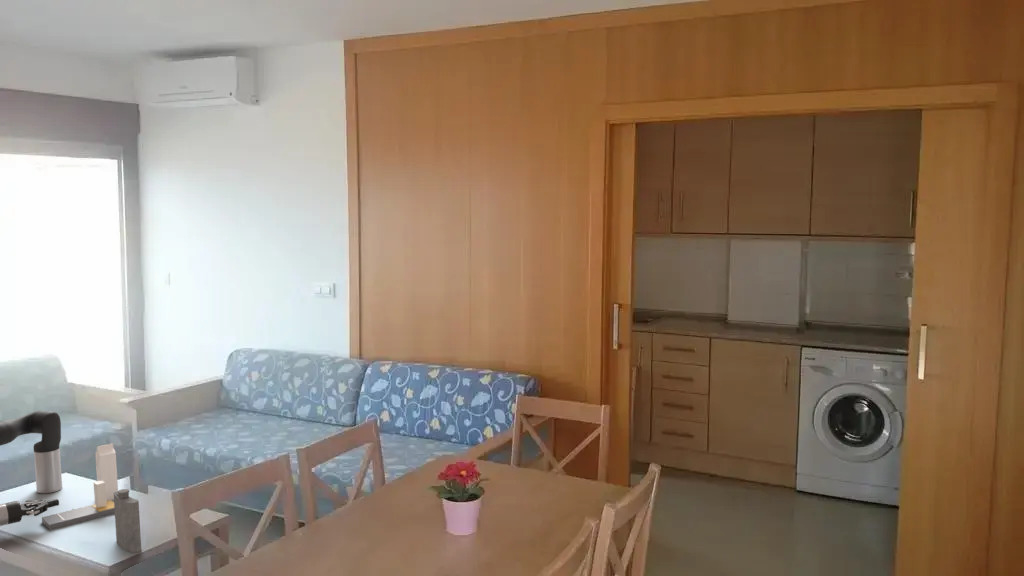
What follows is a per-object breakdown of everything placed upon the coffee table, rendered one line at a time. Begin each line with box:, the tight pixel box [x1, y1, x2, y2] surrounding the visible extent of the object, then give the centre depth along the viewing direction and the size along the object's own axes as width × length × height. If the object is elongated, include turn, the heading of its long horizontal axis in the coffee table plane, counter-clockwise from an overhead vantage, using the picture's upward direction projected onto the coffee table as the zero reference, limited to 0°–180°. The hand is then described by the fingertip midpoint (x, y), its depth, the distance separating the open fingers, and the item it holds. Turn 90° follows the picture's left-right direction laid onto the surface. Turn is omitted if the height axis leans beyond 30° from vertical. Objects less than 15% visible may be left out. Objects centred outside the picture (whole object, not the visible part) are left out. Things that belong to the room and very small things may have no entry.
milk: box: [94, 443, 119, 501], centre depth 323 cm, size 6×6×22 cm
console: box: [41, 499, 115, 531], centre depth 305 cm, size 10×26×2 cm, turn 134°
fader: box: [93, 480, 107, 508], centre depth 308 cm, size 4×3×9 cm
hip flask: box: [113, 488, 142, 554], centre depth 276 cm, size 16×4×20 cm, turn 47°
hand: (58, 501), depth 298 cm, fingers closed
